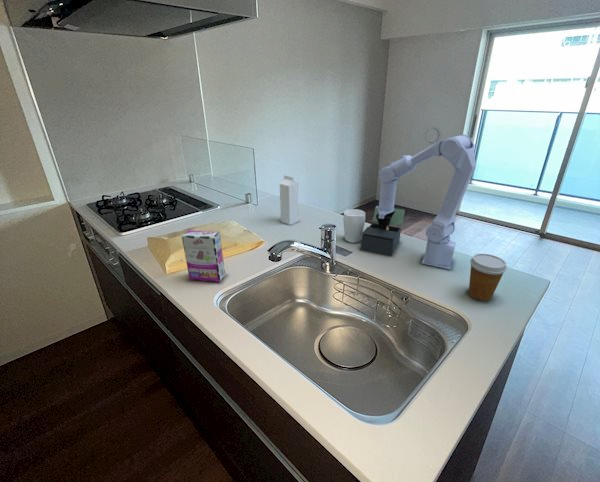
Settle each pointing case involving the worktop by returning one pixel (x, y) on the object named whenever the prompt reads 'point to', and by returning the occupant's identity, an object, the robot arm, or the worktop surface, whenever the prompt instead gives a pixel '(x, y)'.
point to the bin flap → (393, 217)
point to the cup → (353, 225)
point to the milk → (289, 200)
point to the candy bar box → (204, 255)
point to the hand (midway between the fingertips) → (383, 229)
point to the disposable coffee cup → (485, 275)
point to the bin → (380, 239)
